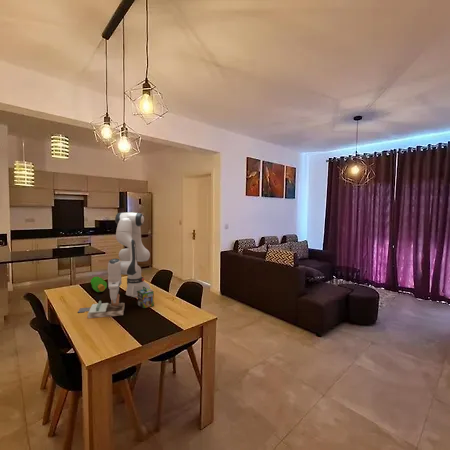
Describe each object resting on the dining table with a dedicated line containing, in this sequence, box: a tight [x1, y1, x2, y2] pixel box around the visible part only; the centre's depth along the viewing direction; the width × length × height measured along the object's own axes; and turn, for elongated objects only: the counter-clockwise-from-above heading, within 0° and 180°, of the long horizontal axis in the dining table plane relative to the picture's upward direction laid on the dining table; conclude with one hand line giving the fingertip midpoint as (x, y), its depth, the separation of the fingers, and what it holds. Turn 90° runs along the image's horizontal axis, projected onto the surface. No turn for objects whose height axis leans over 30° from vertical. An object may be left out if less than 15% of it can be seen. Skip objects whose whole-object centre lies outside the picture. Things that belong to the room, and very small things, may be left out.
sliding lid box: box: [87, 302, 125, 319], centre depth 186 cm, size 22×15×4 cm
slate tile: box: [77, 306, 91, 314], centre depth 189 cm, size 7×7×1 cm
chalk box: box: [137, 287, 155, 309], centre depth 201 cm, size 9×9×15 cm
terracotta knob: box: [110, 293, 120, 306], centre depth 188 cm, size 6×6×7 cm
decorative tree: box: [90, 276, 108, 293], centre depth 234 cm, size 11×12×30 cm
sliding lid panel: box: [88, 300, 109, 313], centre depth 185 cm, size 10×15×3 cm
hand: (115, 300), depth 188 cm, fingers closed on terracotta knob, 5 cm apart
